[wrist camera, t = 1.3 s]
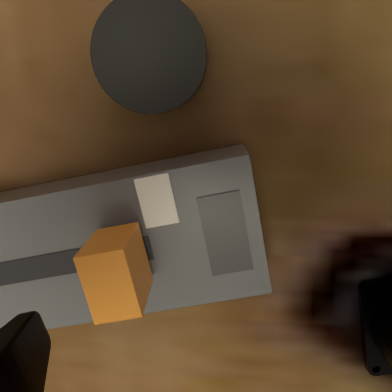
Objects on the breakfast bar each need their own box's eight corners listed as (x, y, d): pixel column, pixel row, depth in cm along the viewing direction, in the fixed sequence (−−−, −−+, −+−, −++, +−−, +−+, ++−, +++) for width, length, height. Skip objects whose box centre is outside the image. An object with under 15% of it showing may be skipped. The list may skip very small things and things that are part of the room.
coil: (215, 100, 19) (216, 101, 16) (122, 119, 19) (108, 124, 16) (195, -5, 17) (193, -24, 14) (97, 19, 18) (76, 4, 15)
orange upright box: (153, 279, 17) (142, 317, 14) (113, 286, 17) (94, 324, 14) (138, 221, 16) (123, 249, 13) (96, 229, 16) (72, 258, 14)
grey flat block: (261, 261, 21) (272, 294, 17) (-23, 309, 22) (-65, 348, 19) (242, 143, 19) (249, 154, 16) (-67, 204, 21) (-122, 227, 17)
